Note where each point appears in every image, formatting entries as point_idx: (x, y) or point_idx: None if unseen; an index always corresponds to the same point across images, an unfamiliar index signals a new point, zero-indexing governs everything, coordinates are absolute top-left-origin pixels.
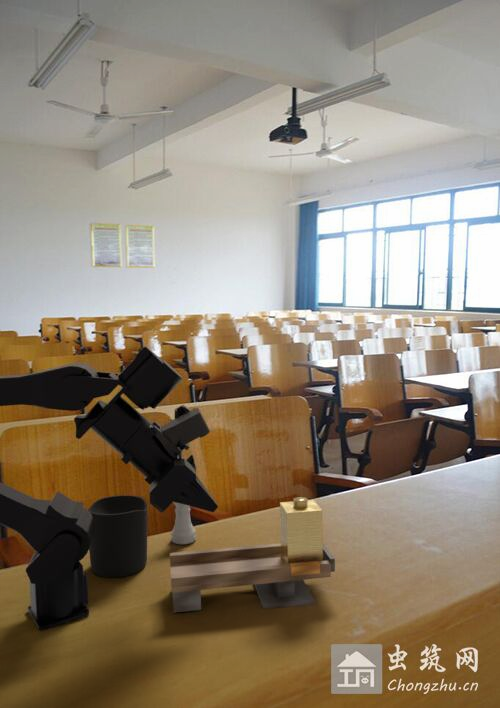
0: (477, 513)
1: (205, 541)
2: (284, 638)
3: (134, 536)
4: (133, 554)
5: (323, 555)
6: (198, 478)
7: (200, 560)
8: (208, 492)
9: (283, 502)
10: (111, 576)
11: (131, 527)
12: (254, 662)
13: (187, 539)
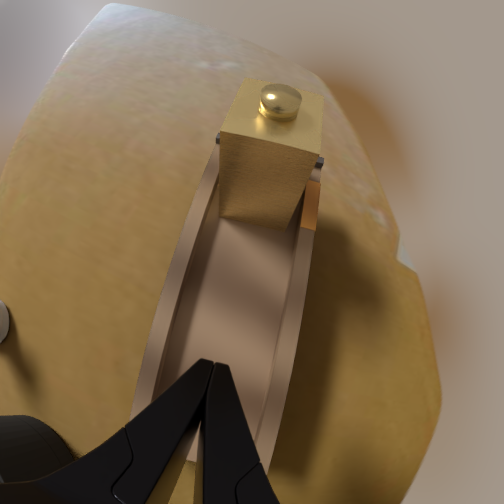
0: (183, 24)
1: (14, 290)
2: (374, 308)
3: (38, 473)
4: (58, 467)
5: None
6: (104, 469)
7: (157, 385)
8: (177, 404)
9: (226, 124)
10: None
11: None
12: (405, 363)
13: (3, 321)
